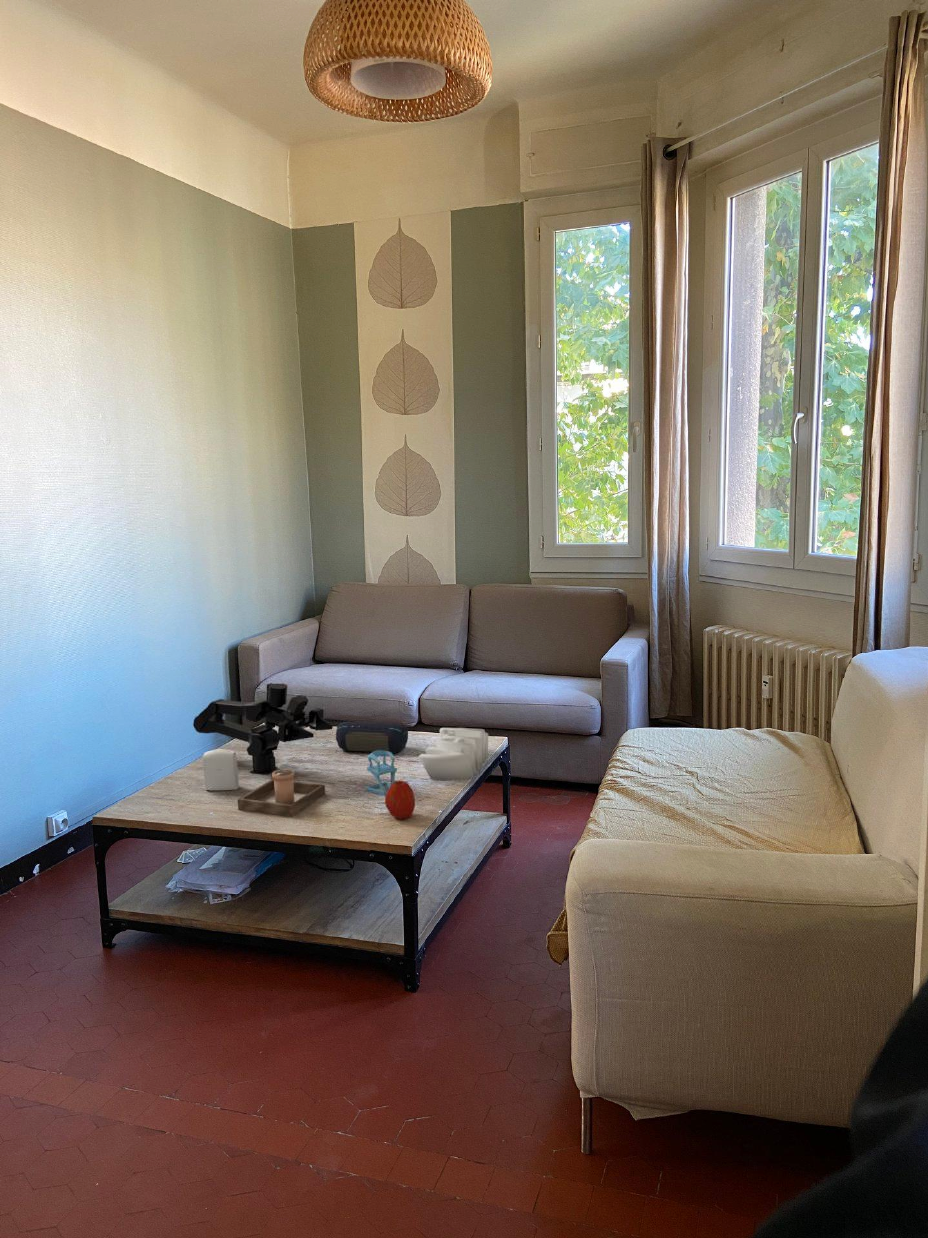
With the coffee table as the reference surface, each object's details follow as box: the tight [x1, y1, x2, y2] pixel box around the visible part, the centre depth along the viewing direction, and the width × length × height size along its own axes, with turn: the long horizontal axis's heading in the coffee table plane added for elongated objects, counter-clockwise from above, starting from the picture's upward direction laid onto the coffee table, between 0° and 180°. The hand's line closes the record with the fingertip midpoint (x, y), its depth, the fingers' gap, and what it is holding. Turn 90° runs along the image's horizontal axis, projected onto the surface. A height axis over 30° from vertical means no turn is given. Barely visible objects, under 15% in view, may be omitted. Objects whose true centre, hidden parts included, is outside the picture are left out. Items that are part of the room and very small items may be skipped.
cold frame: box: [237, 778, 326, 817], centre depth 259 cm, size 18×18×3 cm
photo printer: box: [202, 748, 240, 791], centre depth 271 cm, size 10×4×12 cm, turn 89°
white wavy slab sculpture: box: [417, 727, 489, 781], centre depth 285 cm, size 35×16×11 cm, turn 162°
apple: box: [384, 780, 416, 820], centre depth 245 cm, size 8×8×11 cm
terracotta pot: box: [271, 768, 296, 805], centre depth 256 cm, size 6×6×10 cm
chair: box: [364, 750, 398, 796], centre depth 266 cm, size 8×8×12 cm
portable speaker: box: [335, 720, 409, 754], centre depth 305 cm, size 25×10×10 cm, turn 77°
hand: (322, 731), depth 272 cm, fingers open, 9 cm apart
